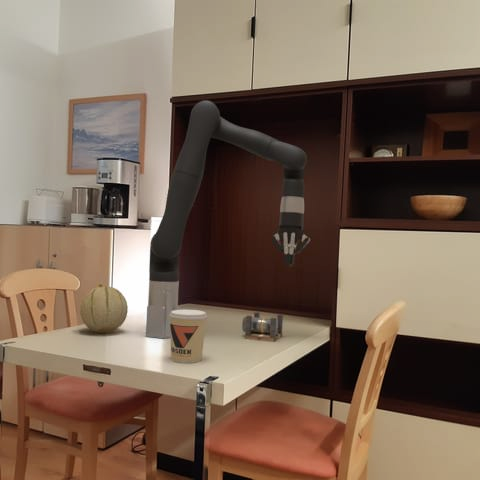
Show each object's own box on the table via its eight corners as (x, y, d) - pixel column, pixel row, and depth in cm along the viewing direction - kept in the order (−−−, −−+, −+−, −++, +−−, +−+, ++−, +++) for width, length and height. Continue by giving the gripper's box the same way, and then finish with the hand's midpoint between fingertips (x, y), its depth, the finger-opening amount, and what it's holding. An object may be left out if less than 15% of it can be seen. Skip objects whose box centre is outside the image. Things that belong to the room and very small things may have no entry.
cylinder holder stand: (273, 342, 151) (274, 318, 151) (245, 338, 154) (246, 316, 154) (282, 336, 160) (283, 314, 160) (254, 333, 164) (255, 312, 164)
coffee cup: (160, 360, 121) (163, 312, 121) (178, 353, 130) (180, 308, 130) (194, 365, 118) (197, 315, 118) (210, 357, 126) (212, 311, 127)
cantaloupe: (103, 338, 144) (105, 288, 144) (68, 332, 151) (70, 284, 151) (136, 332, 157) (138, 285, 157) (103, 326, 164) (105, 282, 164)
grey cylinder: (242, 333, 157) (242, 317, 157) (246, 330, 162) (246, 315, 162) (275, 336, 153) (275, 320, 153) (279, 333, 158) (279, 317, 158)
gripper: (268, 210, 154) (265, 265, 153) (310, 211, 149) (306, 268, 149) (275, 212, 161) (271, 264, 161) (314, 213, 156) (311, 267, 156)
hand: (288, 266), depth 155 cm, fingers closed
